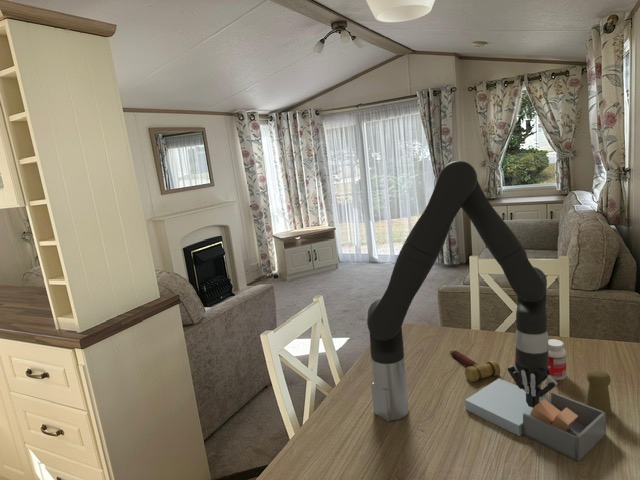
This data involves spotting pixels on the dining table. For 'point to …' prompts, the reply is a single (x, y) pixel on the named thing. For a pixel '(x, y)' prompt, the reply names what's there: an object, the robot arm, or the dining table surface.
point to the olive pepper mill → (599, 391)
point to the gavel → (476, 367)
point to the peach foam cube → (545, 412)
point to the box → (578, 438)
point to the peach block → (565, 420)
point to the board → (501, 405)
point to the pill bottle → (556, 359)
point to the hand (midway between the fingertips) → (532, 406)
